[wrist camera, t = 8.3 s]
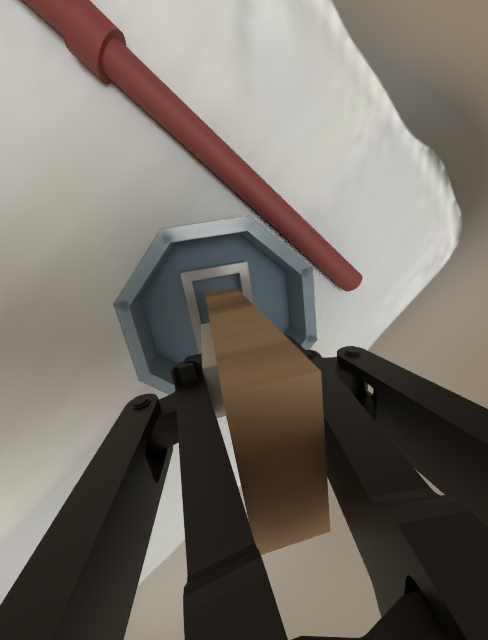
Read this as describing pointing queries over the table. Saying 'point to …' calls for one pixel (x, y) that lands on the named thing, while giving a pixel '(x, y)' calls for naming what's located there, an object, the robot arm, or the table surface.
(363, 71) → the table surface
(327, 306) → the table surface
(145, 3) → the table surface
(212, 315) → the flat wood plank
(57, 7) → the rolling pin
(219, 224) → the octagonal blue tray
